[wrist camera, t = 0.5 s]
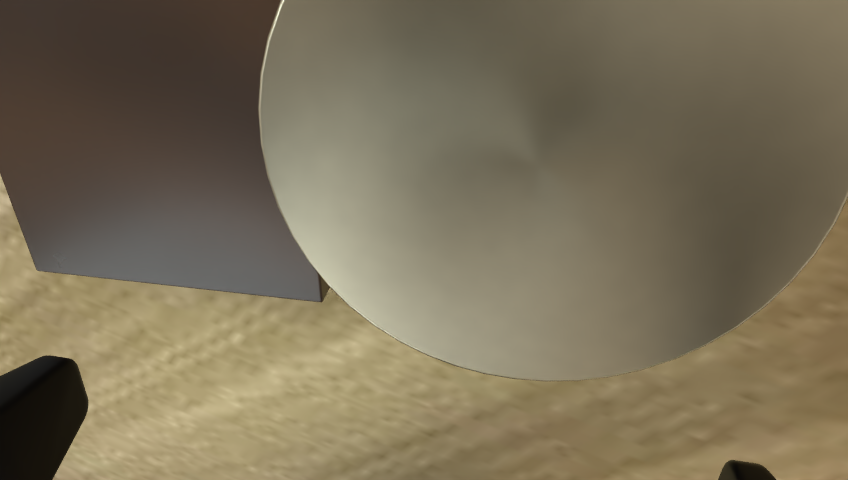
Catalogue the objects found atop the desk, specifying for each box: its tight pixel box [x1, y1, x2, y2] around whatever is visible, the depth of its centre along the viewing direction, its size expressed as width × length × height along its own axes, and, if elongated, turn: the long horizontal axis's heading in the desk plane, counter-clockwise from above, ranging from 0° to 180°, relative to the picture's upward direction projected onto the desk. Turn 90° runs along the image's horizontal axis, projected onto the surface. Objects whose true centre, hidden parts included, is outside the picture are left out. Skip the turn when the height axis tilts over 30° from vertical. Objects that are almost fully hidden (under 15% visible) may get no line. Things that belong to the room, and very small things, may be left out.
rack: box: [0, 0, 330, 302], centre depth 19 cm, size 14×10×4 cm
